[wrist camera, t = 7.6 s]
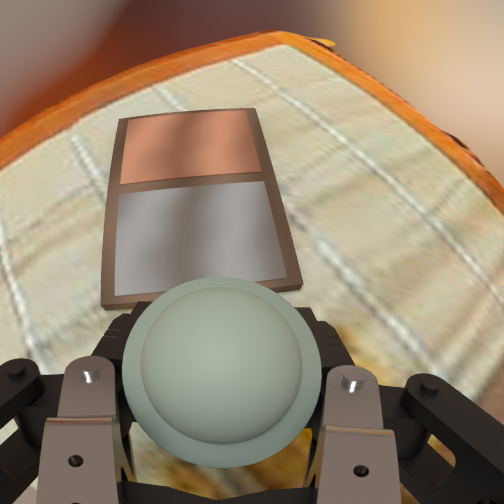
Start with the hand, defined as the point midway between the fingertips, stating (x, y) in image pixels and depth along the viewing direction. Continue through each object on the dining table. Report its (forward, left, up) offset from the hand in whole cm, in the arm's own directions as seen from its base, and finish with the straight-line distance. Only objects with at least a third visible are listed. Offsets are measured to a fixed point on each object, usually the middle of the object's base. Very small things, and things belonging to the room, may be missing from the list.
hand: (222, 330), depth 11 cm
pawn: (0, +2, -4) cm, 5 cm away
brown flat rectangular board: (+1, -13, -9) cm, 16 cm away
